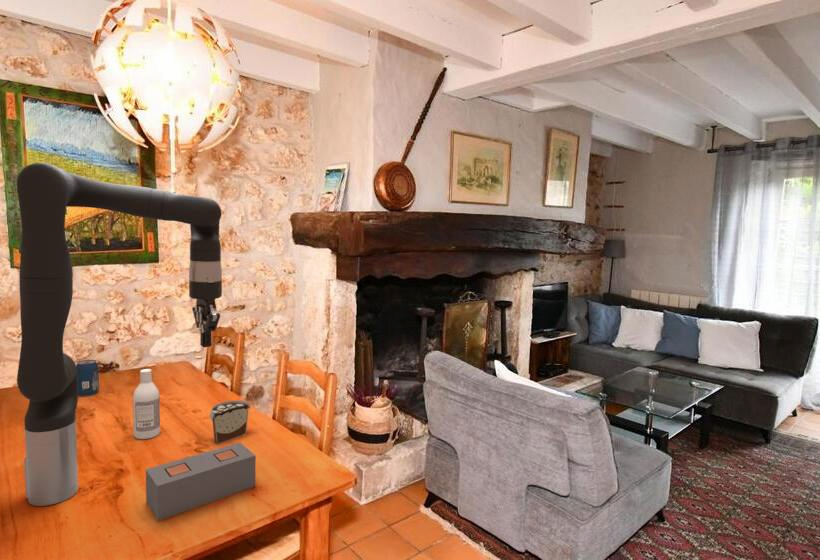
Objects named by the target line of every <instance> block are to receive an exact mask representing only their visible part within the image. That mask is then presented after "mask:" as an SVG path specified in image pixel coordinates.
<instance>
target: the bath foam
mask: <svg viewBox="0 0 820 560" xmlns="http://www.w3.org/2000/svg"><path fill="white" fill-rule="evenodd" d="M139 374H140V376H139V377H140V379H139V380H140V382H139V384H138V386H136V389H135V390H134V393H133V395H132V416H133V417H132V420H133V421H132V424H133V428H132V429H133V437H134V438H135V439H137V440H147V439H152V438H155V437H157V436H158V435H160V433H161V399H160V398H161V397H160V390H159V389H158V388H157V386H156V384H155V383H154V382H153V378H152V376H153V375H152V374H153V373H152V369H151V368H145V369H141V370H140V371H139Z"/></svg>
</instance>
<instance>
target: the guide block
mask: <svg viewBox="0 0 820 560" xmlns="http://www.w3.org/2000/svg"><path fill="white" fill-rule="evenodd" d="M229 450H231V451H232V452H234V453H235V454H236V455H237V457H234V458H231V459H228V460H224V461H221V462H220V461H219V460H218V459H217V458H216V457H215V454H218V453H222V452H225V451H229ZM256 460H257V459H256V454H254V452H252V451H251V450H250V449H249V448H248V447H247V446H245V445H244V444H243V443H241V442H237V443H234V444H233V443H232V444H230V445H226V446H222V447H219V448H216V449H211V450H209V451H205V452H201V453H198V454H194V455H191V456H188V457H184V458H180V459H176V460H174V461H171V462H167V463H163V464H159V465H157V466H152V467H149V468H146V469H145V495H146V496H145V501H146V502H145V503H146V504H147V506H148V507H149V509H150V511H151V512H152V515H153V516H154V518H155V520H156V521H157V522H160V521H162V520H165V519H167V518H171V517H173V516H177V515H179V514H182V513H185V512H188V511H190V510H194V509H197V508H199V507H201V506H204V505H208V504H210V503H213V502H215V501H218V500H220V499H225V498H227V497H229V496H232V495H235V494H238V493H240V492H243V491H247V490H249V489H252V488H254V487H256V463H257V462H256ZM181 464H185V465H186V466H187V467H188V469H189V470H190V471H188V472H185V473H182V474H178V475H175V476H172V477H170V476H169V475H168V473H167V472H166V469H167V468H171V467H174V466H178V465H181Z"/></svg>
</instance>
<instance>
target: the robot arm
mask: <svg viewBox="0 0 820 560" xmlns="http://www.w3.org/2000/svg"><path fill="white" fill-rule="evenodd" d="M16 190H17V191H16V192H17V193H16V194H17V199H18V206H19V213H20V220H21V240H20V241H21V242H20V254H19V301H20V304H19V305H20V307H19V308H20V309H19V310H20V313H19V315H20V333H21V341H20V342H21V343H20V345H21V346H20V353H19V361H18V367H17V376H16V385H17V388H18V390H19V392H20V394H21V395H22V396H23V397H24V398H26V399H28V400H29V401H28V402H29V403H28V406H27V409H26V413H25V416H24V420H23V421H24V423H23V425H24V440H25V457H24V459H23V466H24V482H25V483H24V484H25V485H24V486H25V487H24V488H25V489H24V490H25V499H26V498H27V501H28V503H29V504H30V505H31V506H35V507H44V506H51V505H56V504H59V503H62V502H64V501H67V500H69V499H70V498H72V497H73V496H74V495H76V493H77V492H78V490H79V479H78V477H79V476H78V473H79V472H78V449H77V427H76V426H77V423H76V412H77V409H78V402H79V401H78V397H79V395H78V375H77V367H76V365H77V363H76V362H75V360H74V359H73V357H71V356H69V355H68V354H66V353H64V344H63V343H64V333H65V329H66V326H67V321H68V318H69V315H70V311H71V307H72V302H73V293H74V292H73V291H74V288H73V284H74V281H73V280H74V277H73V276H74V273H73V272H74V271H73V270H74V269H73V263H72V258H71V253H70V249H69V246H68V242H67V238H66V228H65V227H66V226H65V225H66V212H67V211H66V210H67V208H68V207H69V208H71V207H73V208H75V207H76V208H92V209H100V210H107V211H112V212H116V213H120V214H126V215H131V216H135V217H141V218H145V219H152V220H158V221H166V222H168V221H169V222H178V223H183V224H188V225H189V226H190V242H189V243H190V245H189V266H188V267H189V270H188V283H189V284H188V289H189V291H188V293H189V294H188V295H189V298H190V299H193V300H196V301H195V305H194V306H193V307H192V313H193V317H194V321H195V325H196V329H198V332H199V333H200V335H199V336H200V346H201V347H203V348H209V347H211V346H212V333H213V332H216V330H217V326H218V324H219V321H220V318H221V314H220V312H219V313H218V312H217V305H216V299H219V298H221V297H222V296H223V281H222V280H223V276H222V275H223V270H222V269H223V268H222V261H221V260H222V258H221V257H222V256H221V255H222V252H221V251H222V250H221V249H222V248H221V240H220V222H221V221H220V220H221V218H222V209H221V206H220V204H219V203H218V202H217V201H215V200H214V199H213V198H209V197H205V196H204V197H203V196H198V195H197V196H196V195H190V194H181V193H176V192H171V191H167V190H164V189H158V188H157V189H156V188H152V187H145V186H140V185H139V186H138V185H130V184H118V183H113V182H112V183H111V182H104V181H100V180H95V179H90V178H88V177H85V176H82V175H81V176H80V175H78V174H75V173H71V172H68V171H67V170H64V169H63V168H61V167H59V166H56V165H53V164H50V163H47V162H34V163H31V164H28V165H26V166H25V167H24V168H23V169H21V171H20V172H19V174H18V176H17V179H16Z"/></svg>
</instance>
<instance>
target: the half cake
mask: <svg viewBox="0 0 820 560" xmlns="http://www.w3.org/2000/svg"><path fill="white" fill-rule="evenodd" d="M249 409H251V404H250V402H249V401H245V400H227V401H224V402H220V403H219V402H218V403H217V404H215V405H213V406H212V407H211V410H210V412H209V418H210V419H211V420H212V421H211V422H212V429H213V438H214V439H213V440H214V443H215V444H216V445H217V444H218V445H220V443H221V444H223V443H227V442H229V441H231V439H232V440H235V439H237V438H236V437H238V438H240V437H239V436H241V437H243V436H242V435H244V434H246V435H247V428H248V427H247V426H248V418H249ZM244 436H245V435H244ZM234 438H235V439H234Z"/></svg>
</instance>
